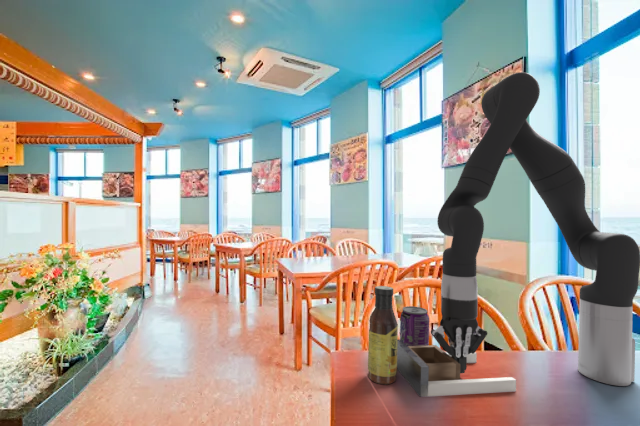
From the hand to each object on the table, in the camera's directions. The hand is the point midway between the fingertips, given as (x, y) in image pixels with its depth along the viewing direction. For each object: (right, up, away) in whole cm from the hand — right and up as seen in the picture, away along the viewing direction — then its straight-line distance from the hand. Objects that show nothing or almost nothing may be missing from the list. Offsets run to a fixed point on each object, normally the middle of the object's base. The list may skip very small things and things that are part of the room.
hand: (458, 371), depth 72 cm
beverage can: (-7, -1, +10) cm, 12 cm away
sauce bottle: (-18, -1, -2) cm, 18 cm away
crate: (-7, -1, -1) cm, 7 cm away
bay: (-2, -1, 0) cm, 2 cm away
